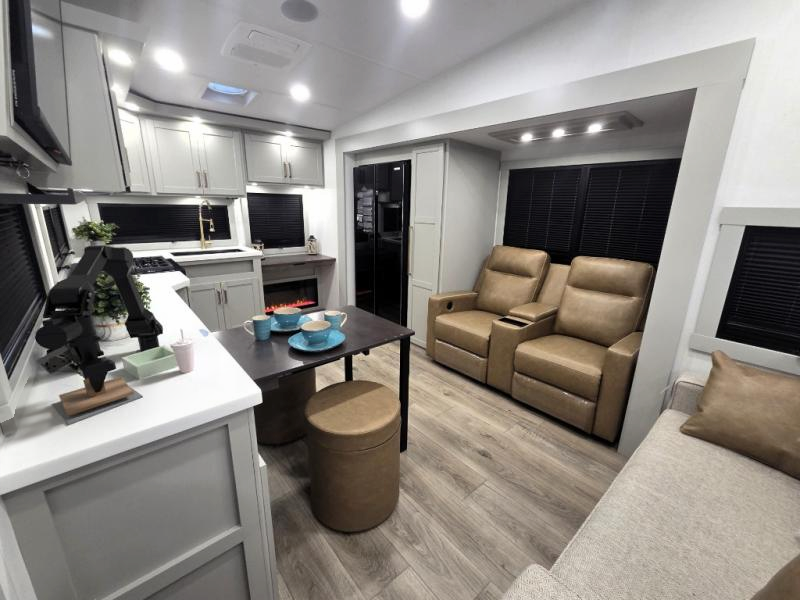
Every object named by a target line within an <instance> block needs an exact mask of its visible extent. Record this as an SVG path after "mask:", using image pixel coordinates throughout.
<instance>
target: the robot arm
mask: <svg viewBox="0 0 800 600" xmlns="http://www.w3.org/2000/svg"><path fill="white" fill-rule="evenodd" d="M83 251H84V252H83V254H82V256H81V258H80V259H79V261H78V262H77V264H76V265H75V267H74V268H73V270H72V271H71V273H70V274H69V275H68V276H67V277H66V278H65V279H62V280H61V279H60V281H57V282H56V283H54V285H53V286H52V287H51V288H50V289H49V291H48V293H47V295H46V299H45V300H46V301H45V304H44V310H43V314H42V318H43V319H44V320H41V321H42V322H41V324H42V326H41V327H39V328H38V329H37V331H35V336H34V339H35V342H36V343H37V344H38V345H39V347H42V348H44V349H45V350H52V351H51V352H49V353H46V354H45V355H44V356H43V355H42V356H41V357H39V358H38V359H37V360H36V362H37V363H38V364H39V365H40V366H41V367H42V368H43V370H45V371H46V372H47V373H48V374H49V375H51V374H54V373H56V372H57V371H59V370H60V369H61V368H64V367H65V366H67V365H68V367H70V369H73V370H76V371H78V372H77V374H78V375H79V376H81V377H82V378H83V380H85V379H88V380H89V382H90V384H91V386H92V387H93V389H94V391H95V392H96V393H97V392H100V391H101V390H102V387H103V384H104V382H105V381H106V378H107V375H108V373H109V372H111V371H114V370H116V369H117V366H116V362H115V361H114V360H113V359H111V358H110V357H107V356H105V351H103V350H102V349H101V346H100V342H99V341H101V336H100V335H98V333H97V329H96V326H95V321H94V317H93V314H92V313H94V312H96V311H95V310H96V309H95V308H94V307H92V306H93V305H94V301H95V297H96V291H95V290H94V288H93V287H94V284H95V283H96V281H97V279H98V277H99V276H100V274H101V272H102V271H103V272H104V273H106V274H107V275H109V276H111V277H112V279H113V281H114V284H115V286H116V289H117V291H118V293H119V295H120V298H121V301H122V303H123V305H124V307H125V309H126V312H127V316H126V317H127V318H126V320H125V321H124V326H125V329H126V331H127V333H128V335H129V338H130V339H134V338H136V339H137V342H138V346H139V349H137V350H136V353H139V352H143V351H146V350H150V349H153V348H157V347H160V342H159V338H158V337H159V336H160V335H163V334H164V331H163V330H164V328H163V325H162V324H161V323H160V321H158V319H157V318H156V316H155V315H154V313H153V312H152V311H150V310H148V309H147V308H146V307H145V305H144V302H143V299H142V297H141V295H140V291H139V290H138V287H137V285H136V281H135V279H134V277H133V274H132V269H133V266H134V264H135V262H134V255H133V252H132V251H131V250H130V249H129V248H127V247H125V246H123V247H122V246H120V247H113V246H107V245H105V244H102V245H101V244H100V245H98V244H97V245H88V246H86V247H84V250H83ZM102 356H103V357H102Z"/></svg>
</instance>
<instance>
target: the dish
mask: <svg viewBox="0 0 800 600" xmlns="http://www.w3.org/2000/svg"><path fill="white" fill-rule="evenodd" d="M159 346H160V345H159ZM121 363H122V367H123V370H124V371H126V372H127V373H129V374H130V375H132V376H133V377H134V378H136V379H137V380H143V379H146V378H149V377H153V376H155V375H158V374H161V373H163V372H168V371H169V370H173V369H175V368H176V369H177V367H178V368H179V366H178V363H177V361H176V358H175V355H174V352H173V349H172V348H171V347H168V346H165V345H161V346H160V347H157V348H153V349H150V350H146V351H143V352H139V353H138V352H136V353H133V354H130V355H126V356H123V357H121Z"/></svg>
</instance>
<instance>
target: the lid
mask: <svg viewBox="0 0 800 600" xmlns="http://www.w3.org/2000/svg"><path fill="white" fill-rule="evenodd" d="M82 381H83V384H84V387H81V388H79V389H75V390H71V391H69V392H63V393H61V394H59V400H60V401H61V402H62V404H63V406H64V409H65V411H66V413H67V416H70V415H73V414H76V413H79V412H82V411H85V410H88V409H91V408H94V407H97V406H100V405H103V404H106V403H109V402H112V401H115V400H118V399H121V398H124V397H127V396H130V395H133V394H134V392H133V390H132V389H131V388H132V387H131V386H130V385H129V384H128V383H127V382H126V381H125V379H123V377H122V376H119V377H116V378H115V377H114V378H113V379H109V380H105V381H104V384H103V387H102V390H101V391H100V392H97V393H96V392H95V391H94V389H93V387H92V386H91V384H90V382H89V380H88V379H83V380H82ZM129 386H130V387H131V388H130V387H129Z"/></svg>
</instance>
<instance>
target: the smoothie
mask: <svg viewBox="0 0 800 600" xmlns="http://www.w3.org/2000/svg"><path fill="white" fill-rule="evenodd" d="M180 336H181V339H177V340H174V341H173V342H171V343H170V344H169V345H170V349H172V350H173V352H174V355H175V358H176V361H177V363H178V369H179V372H180V373H181V374H188V373H191V372H193V371H194V370H195V351H194V349H195V347H194V346H195V340H194V339H193V338H185V334H184V329H183V328H180Z"/></svg>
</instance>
